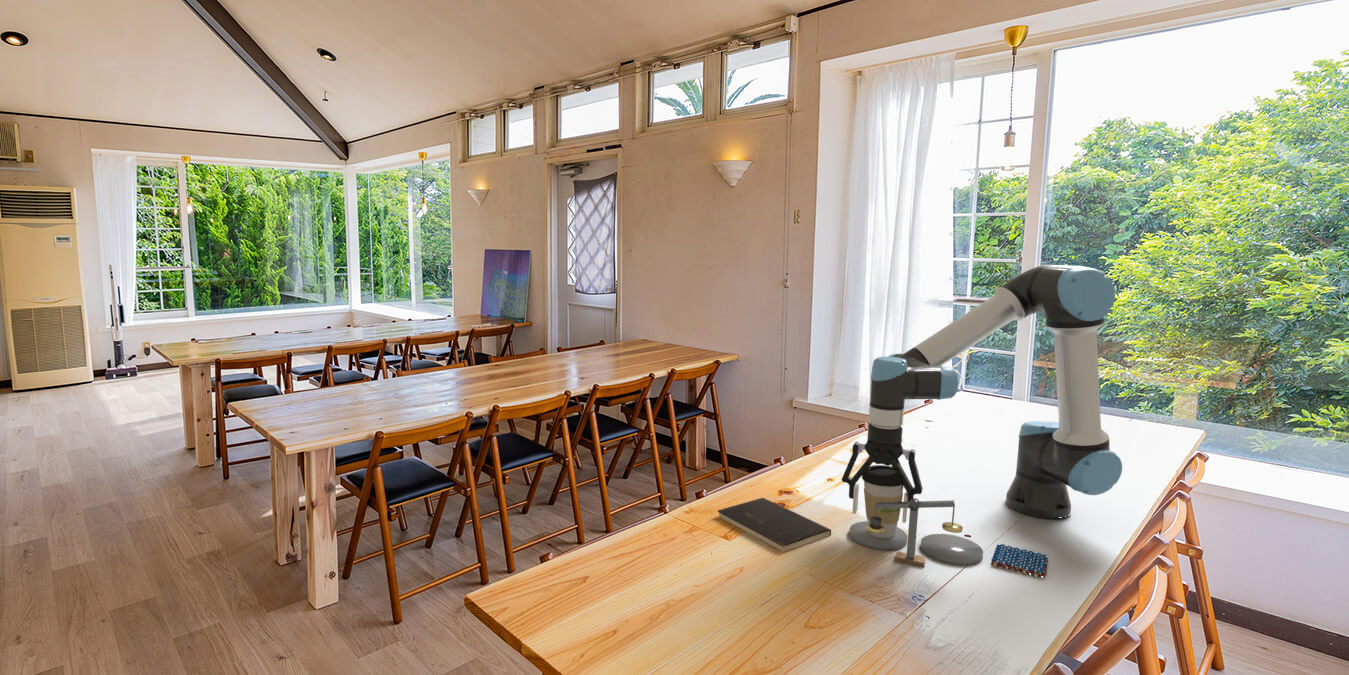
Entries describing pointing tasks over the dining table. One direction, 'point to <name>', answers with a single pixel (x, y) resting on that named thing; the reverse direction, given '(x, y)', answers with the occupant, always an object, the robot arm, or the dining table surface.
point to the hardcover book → (774, 523)
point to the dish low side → (877, 538)
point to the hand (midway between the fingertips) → (879, 516)
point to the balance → (912, 526)
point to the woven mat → (1020, 560)
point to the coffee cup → (883, 496)
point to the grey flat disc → (951, 549)
